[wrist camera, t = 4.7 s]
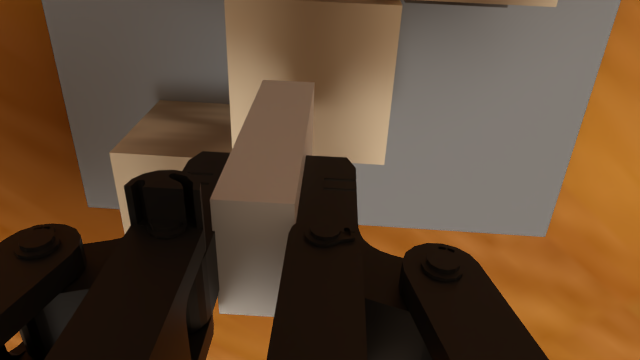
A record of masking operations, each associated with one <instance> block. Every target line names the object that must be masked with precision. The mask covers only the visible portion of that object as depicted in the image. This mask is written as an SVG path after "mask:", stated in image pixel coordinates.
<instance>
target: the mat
mask: <svg viewBox="0 0 640 360" xmlns="http://www.w3.org/2000/svg"><path fill="white" fill-rule="evenodd" d="M400 1H401V4H402V15H401V23H400V32H399V41H398V49H397V58H396V67H395V76H394V84H393V93H392V102H391V111H390V119H389V128H388V137H387V145H386V154H385V163H384V165H376V164H360V163H352V164H353V165H354V166H355V168H356V184H357V209H358V225H371V226H386V227H402V228H417V229H432V230H448V231H463V232H478V233H494V234H509V235H524V236H540V237H545V236H546V233H547V230H548V226H549V223H550V220H551V217H552V214H553V211H554V208H555V205H556V201H557V198H558V195H559V192H560V189H561V186H562V183H563V180H564V176H565V173H566V170H567V167H568V164H569V161H570V158H571V154H572V151H573V148H574V145H575V142H576V139H577V136H578V133H579V129H580V126H581V123H582V120H583V117H584V114H585V111H586V108H587V104H588V101H589V98H590V95H591V92H592V89H593V86H594V83H595V79H596V76H597V73H598V70H599V67H600V64H601V61H602V57H603V54H604V51H605V48H606V45H607V42H608V39H609V36H610V32H611V29H612V26H613V23H614V20H615V17H616V14H617V11H618V7H619V4H620V1H621V0H558V2H557V6H556V7H543V6H523V5H508V8H501V7H481V6H462V5H442V4H422V3H405V2H404V0H400ZM42 4H43V9H44V13H45V18H46V22H47V27H48V31H49V35H50V40H51V44H52V49H53V53H54V58H55V62H56V66H57V71H58V75H59V80H60V84H61V89H62V93H63V97H64V102H65V106H66V111H67V115H68V120H69V124H70V128H71V133H72V137H73V142H74V146H75V151H76V155H77V159H78V164H79V168H80V173H81V177H82V182H83V186H84V190H85V195H86V199H87V204H88V207H95V208H111V209H120V207H119V201H118V196H117V191H116V186H115V180H114V175H113V170H112V164H111V159H110V154H109V152H110V151H111V150H112V149H113V148H114V147H115V146H116V145H117V144H118V143H119V142H120V141H121V140H122V139H123V138H124V137H125V136H126V135H127V134H128V133H129V132H130V131H131V129H132V128H133V127H134V126H135V125H136V124H137V123H138V122H139V121H140V120H141V119H142V118H143V117H144V116H145V115H146V114H147V113H148V112H149V111H150V110H151V109H152V108H153V107H154V106H155V105H156V103H157V102H158V101H159V100H167V101H184V102H202V103H219V104H230V99H229V81H228V62H227V44H226V25H225V7H224V0H42Z"/></svg>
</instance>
